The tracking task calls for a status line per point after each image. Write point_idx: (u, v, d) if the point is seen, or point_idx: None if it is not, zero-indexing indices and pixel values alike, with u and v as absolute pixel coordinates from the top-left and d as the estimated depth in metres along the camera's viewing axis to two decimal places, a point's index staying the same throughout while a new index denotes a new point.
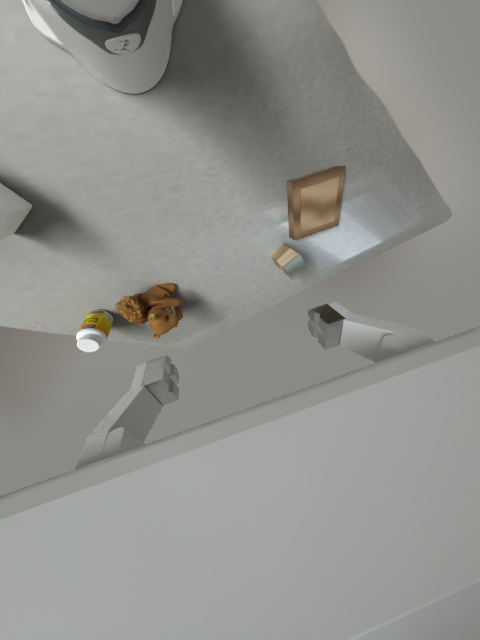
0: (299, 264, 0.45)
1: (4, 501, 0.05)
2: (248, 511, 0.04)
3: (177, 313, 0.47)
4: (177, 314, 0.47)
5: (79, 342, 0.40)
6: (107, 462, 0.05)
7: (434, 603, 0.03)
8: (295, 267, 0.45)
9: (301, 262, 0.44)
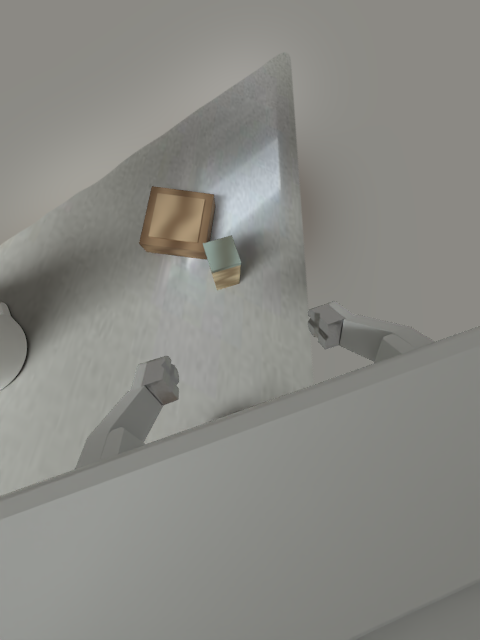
0: (217, 247, 0.28)
1: (4, 501, 0.05)
2: (248, 510, 0.04)
3: None
4: None
5: None
6: (107, 462, 0.05)
7: (434, 603, 0.03)
8: (219, 254, 0.28)
9: (215, 244, 0.28)
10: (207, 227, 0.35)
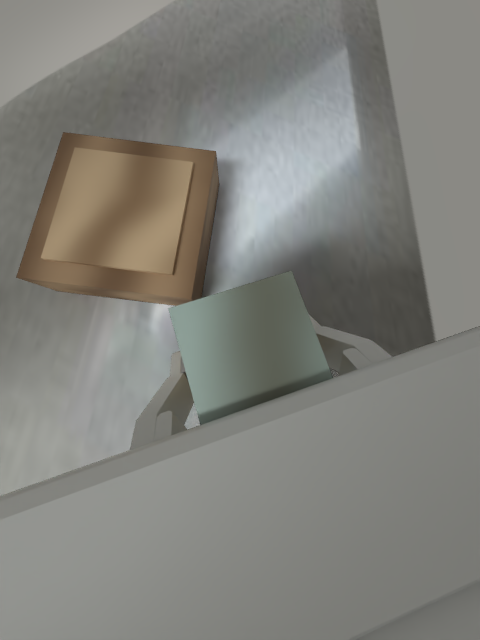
0: (233, 325, 0.07)
1: (4, 501, 0.05)
2: (248, 511, 0.04)
3: None
4: None
5: None
6: (107, 462, 0.05)
7: (434, 603, 0.03)
8: (241, 357, 0.06)
9: (225, 309, 0.07)
10: (199, 233, 0.14)
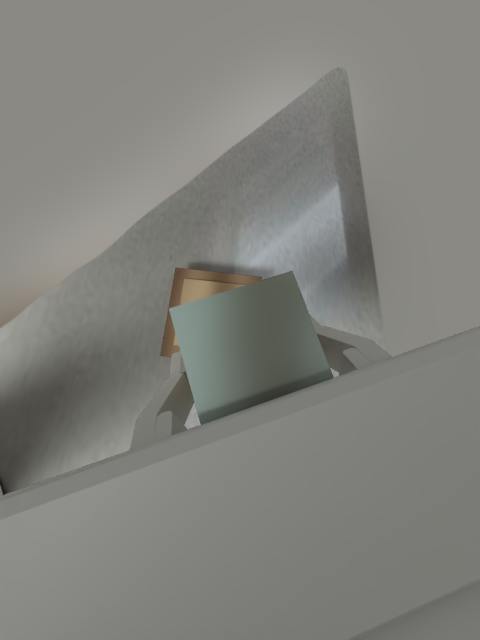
0: (234, 325, 0.06)
1: (3, 501, 0.05)
2: (248, 511, 0.04)
3: None
4: None
5: None
6: (107, 462, 0.05)
7: (434, 603, 0.03)
8: (242, 357, 0.06)
9: (226, 309, 0.07)
10: None
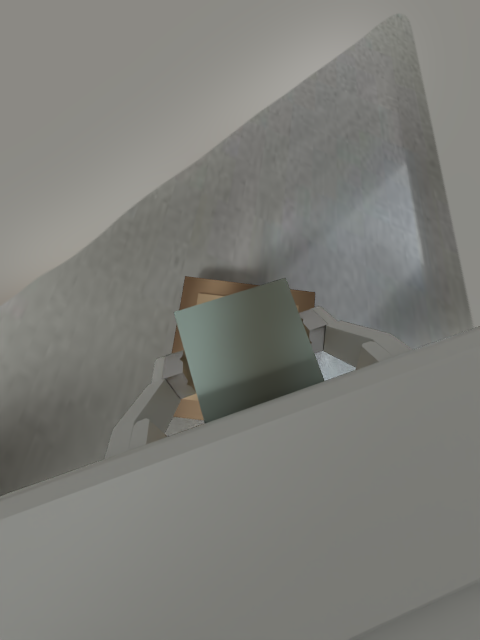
0: (232, 327, 0.07)
1: (4, 501, 0.05)
2: (248, 511, 0.04)
3: None
4: None
5: None
6: (107, 462, 0.05)
7: (434, 603, 0.03)
8: (240, 356, 0.07)
9: (225, 313, 0.07)
10: None
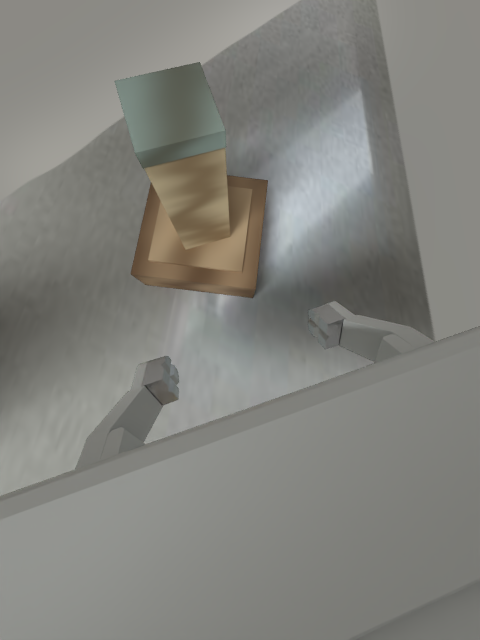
0: (157, 91, 0.10)
1: (4, 501, 0.05)
2: (248, 511, 0.04)
3: None
4: None
5: None
6: (107, 462, 0.05)
7: (434, 603, 0.03)
8: (161, 108, 0.10)
9: (153, 82, 0.10)
10: (259, 241, 0.19)
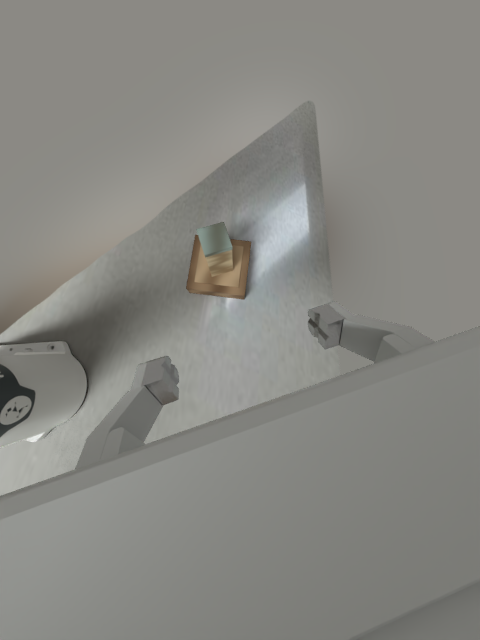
0: (210, 232, 0.30)
1: (3, 501, 0.05)
2: (248, 511, 0.04)
3: None
4: None
5: None
6: (107, 462, 0.05)
7: (434, 604, 0.03)
8: (212, 239, 0.30)
9: (208, 229, 0.30)
10: (246, 272, 0.39)
